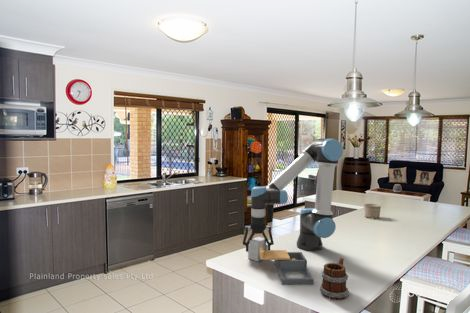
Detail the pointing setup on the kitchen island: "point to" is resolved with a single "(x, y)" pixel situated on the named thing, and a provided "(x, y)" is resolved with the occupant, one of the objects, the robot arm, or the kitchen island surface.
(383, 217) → the kitchen island surface
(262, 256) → the lid
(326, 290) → the mug
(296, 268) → the housing
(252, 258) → the small box
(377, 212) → the planter
